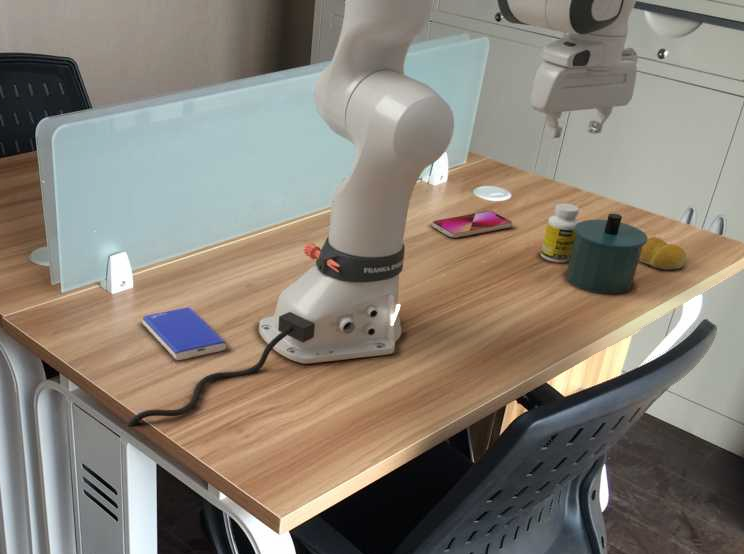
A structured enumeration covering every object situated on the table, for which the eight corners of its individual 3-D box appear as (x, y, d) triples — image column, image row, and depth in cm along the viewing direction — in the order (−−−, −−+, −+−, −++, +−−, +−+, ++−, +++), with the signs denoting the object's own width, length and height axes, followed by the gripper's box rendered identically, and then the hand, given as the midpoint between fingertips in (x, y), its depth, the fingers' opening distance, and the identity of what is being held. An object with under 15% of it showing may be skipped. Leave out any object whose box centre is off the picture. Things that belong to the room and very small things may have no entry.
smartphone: (430, 221, 186) (490, 210, 192) (429, 226, 187) (489, 214, 192) (453, 234, 181) (514, 222, 186) (452, 239, 181) (513, 227, 187)
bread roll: (670, 275, 171) (676, 254, 169) (625, 258, 177) (631, 238, 174) (692, 264, 176) (699, 243, 173) (648, 248, 181) (654, 228, 179)
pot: (598, 298, 162) (610, 251, 157) (553, 273, 170) (563, 228, 165) (644, 287, 166) (657, 242, 161) (598, 263, 174) (609, 219, 169)
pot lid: (609, 256, 157) (616, 233, 154) (558, 231, 165) (563, 208, 163) (661, 246, 162) (667, 223, 159) (608, 221, 170) (614, 199, 168)
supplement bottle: (551, 264, 173) (563, 213, 167) (534, 253, 177) (545, 202, 172) (576, 262, 174) (589, 211, 169) (559, 250, 179) (571, 200, 173)
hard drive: (142, 316, 146) (175, 351, 137) (190, 306, 149) (226, 340, 140) (142, 325, 147) (176, 361, 138) (190, 315, 150) (226, 350, 141)
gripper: (625, 43, 162) (604, 125, 169) (534, 48, 153) (516, 134, 160) (654, 51, 157) (631, 135, 164) (562, 57, 148) (542, 145, 156)
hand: (573, 135), depth 162 cm, fingers open, 8 cm apart
